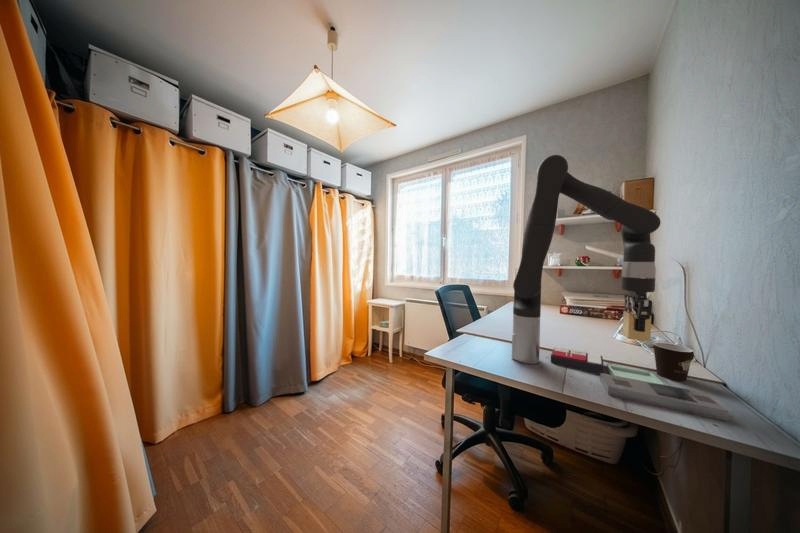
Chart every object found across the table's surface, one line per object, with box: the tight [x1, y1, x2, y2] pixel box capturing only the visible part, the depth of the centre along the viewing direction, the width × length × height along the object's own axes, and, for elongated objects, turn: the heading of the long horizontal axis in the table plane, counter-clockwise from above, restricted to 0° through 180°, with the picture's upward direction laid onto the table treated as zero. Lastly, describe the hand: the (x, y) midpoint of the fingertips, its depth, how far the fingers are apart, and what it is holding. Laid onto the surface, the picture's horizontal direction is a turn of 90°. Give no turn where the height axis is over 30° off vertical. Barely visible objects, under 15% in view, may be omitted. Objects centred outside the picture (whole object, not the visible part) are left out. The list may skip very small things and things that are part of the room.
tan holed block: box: [622, 310, 652, 343], centre depth 75 cm, size 5×5×8 cm
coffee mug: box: [652, 341, 695, 383], centre depth 77 cm, size 12×9×10 cm
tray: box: [606, 364, 666, 385], centre depth 75 cm, size 11×11×2 cm
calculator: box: [550, 346, 605, 376], centre depth 87 cm, size 11×4×15 cm
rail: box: [599, 373, 730, 422], centre depth 65 cm, size 22×9×3 cm, turn 61°
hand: (635, 328), depth 75 cm, fingers closed on tan holed block, 5 cm apart
